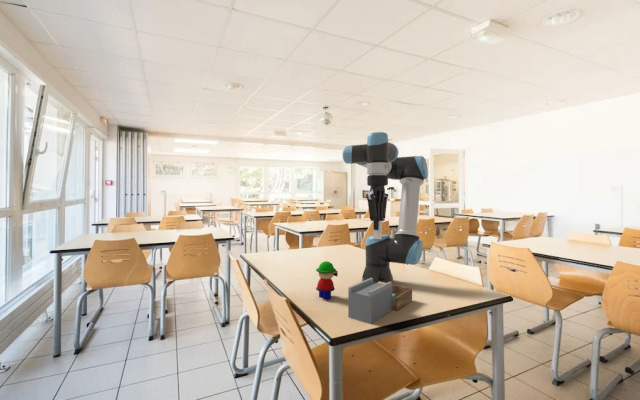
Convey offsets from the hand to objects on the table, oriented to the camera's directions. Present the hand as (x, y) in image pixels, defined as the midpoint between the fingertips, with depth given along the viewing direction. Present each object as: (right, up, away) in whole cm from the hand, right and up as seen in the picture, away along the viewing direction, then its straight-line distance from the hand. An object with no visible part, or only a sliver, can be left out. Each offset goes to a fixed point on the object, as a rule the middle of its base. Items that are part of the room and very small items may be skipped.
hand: (377, 238), depth 112 cm
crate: (+6, -27, +9) cm, 29 cm away
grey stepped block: (-3, -27, -3) cm, 27 cm away
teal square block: (+5, -23, +8) cm, 25 cm away
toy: (-19, -27, +15) cm, 36 cm away
